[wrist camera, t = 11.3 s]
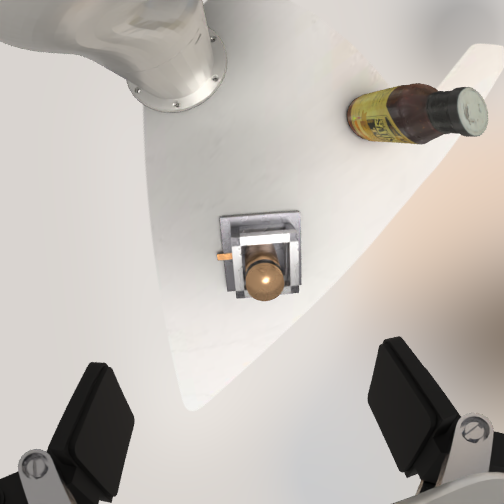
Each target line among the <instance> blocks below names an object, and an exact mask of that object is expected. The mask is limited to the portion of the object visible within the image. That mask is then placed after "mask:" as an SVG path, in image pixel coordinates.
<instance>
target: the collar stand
mask: <svg viewBox="0 0 504 504" xmlns="http://www.w3.org/2000/svg"><path fill="white" fill-rule="evenodd" d="M220 225H221V235H222V245H223V254H217V258H218V260H224V264H225V274H226V283H227V292H228V291H236V298H248V297H252V296H250V294H249V293H248V291H247V289H246V282H245V274H246V272H245V251H246V248H247V247H248V245H258V244H270V243H271V244H272V245H273V246H274V248H275V250H276V253H277V257H278V260H279V264H280V268H281V270H282V273H283V278H284V288H283V291H282V292H281V294H291V293H299V285H301V220H300V212H299V211H287V212H272V213H259V214H246V215H234V216H222V217H220ZM281 294H280V295H281Z"/></svg>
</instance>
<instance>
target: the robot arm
mask: <svg viewBox="0 0 504 504" xmlns="http://www.w3.org/2000/svg"><path fill="white" fill-rule="evenodd" d="M211 40H215V41H214V42H211ZM0 41H1V42H3V43H5V44H8V45H11V46H14V47H18V48H22V49H27V50H32V51H38V52H48V53H63V54H75V55H80V56H83V57H86V58H88V59H90V60H93V61H95V62H97V63H98V64H100V65H102V66H104V67H106V68H107V69H109V70H111V71H112V72H114V73H116V74H118V75H119V76H121V77H123V78H125V79H126V80H127V84H128V87H129V89H130V91H131V92H132V94H133V96H134V97H135V98H137V100H138V101H139V102H141V103H142V104H144V105H145V106H147V107H149V108H151V109H154V110H157V111H161V112H181V111H184V110H188V109H191V108H193V107H195V106H198V105H200V104H201V103H203V102H204V101H206V100H207V99H208V98H209V97H210V96H211V95H212V94H214V93H215V91H216V90H217V89H218V87H219V86H220V84H221V82H222V80H223V78H224V76H225V72H226V68H227V55H226V50H225V47H224V44H223V42H222V40H221V39H220V37H219V36H218V35H217V34H216V33H215V32H214V31H213V30H212V29H210V28H209V27H207V22H206V17H205V12H204V7H203V2H202V0H0ZM215 78H217V79H218V80H217V81H216V82H214V81H213V80H214V79H215ZM139 89H140V90H141V91H140V93H138V90H139ZM176 104H179V107H176ZM368 404H369V406H370V408H371V410H372V412H373V414H374V416H375V419H376V421H377V423H378V425H379V427H380V429H381V431H382V434H383V436H384V438H385V440H386V442H387V445H388V447H389V449H390V451H391V453H392V456H393V458H394V460H395V462H396V464H397V467H398V469H399V471H400V472H405V475H406V477H407V478H408V477H410V476H413V475H416V474H418V475H419V476H420V479H421V482H420V485H419V487H418V490H417V493H416V495H415V496H412V497H410V498H407V499H404V500H401V501H398V502H396V503H393V504H504V434H503V433H499V432H494V431H493V425H492V423H491V421H490V420H489V419H488V418H487V417H485V416H484V415H482V414H479V413H469V414H466V415H464V416H463V417H461V416H460V415H459V413H458V412H457V410H456V409H455V408H454V406H453V405H452V403H451V402H450V400H449V399H448V398H447V396H446V395H445V393H444V392H443V391H442V389H441V388H440V387H439V385H438V384H437V382H436V381H435V380H434V378H433V377H432V376H431V374H430V373H429V372H428V370H427V369H426V368H425V367H424V366H423V365H422V363H421V362H420V361H419V360H418V358H417V357H416V356H415V354H414V353H413V352H412V350H411V349H410V348H409V346H408V345H407V344H406V343H405V341H404V340H403V339H402V338H401V337H394V338H389V339H385V340H384V341H383V344H381V345H380V346H379V349H378V355H377V359H376V363H375V368H374V372H373V376H372V381H371V385H370V389H369V393H368ZM133 427H134V416H133V413H132V412H131V409H130V407H129V405H128V403H127V401H126V399H125V397H124V395H123V392H122V390H121V388H120V386H119V383H118V382H117V379H116V377H115V374H114V372H113V370H112V368H111V367H108V365H107V364H106V363H97V362H95V363H94V362H91V363H90V364H89V365H88V367H87V368H86V370H85V372H84V374H83V376H82V378H81V380H80V382H79V384H78V386H77V388H76V390H75V392H74V394H73V396H72V398H71V399H70V402H69V404H68V406H67V408H66V410H65V412H64V414H63V416H62V418H61V420H60V422H59V425H58V427H57V429H56V431H55V433H54V435H53V437H52V440H51V442H50V444H49V446H48V450H47V452H46V451H43V450H41V449H34V450H30V451H28V452H26V453H25V454H24V455H23V456H22V457H21V459H20V460H19V464H18V472H16V473H13V474H11V475H9V476H6V477H4V478H2V479H0V504H98V503H99V500H101V501H105V502H110V503H111V502H112V498H113V496H116V495H117V493H118V488H119V484H120V479H121V475H122V471H123V467H124V462H125V458H126V454H127V450H128V446H129V442H130V439H131V435H132V431H133Z"/></svg>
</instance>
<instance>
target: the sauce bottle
mask: <svg viewBox="0 0 504 504" xmlns="http://www.w3.org/2000/svg"><path fill="white" fill-rule="evenodd" d="M347 119H348V122H349V125H350V127H351V129H352V130H353V131H354V132H355V133H356V134H357V135H358V136H360V137H361V138H363V139H367V140H369V141H378V142H396V143H410V144H426V143H427V142H429V141H430V140H433V139H435V138H437V137H439V136H441V135H443V134H449V133H460V134H461V135H463V136H480V135H481V134H482V133H483V132H484V131H485V130H486V127H487V124H488V111H487V108H486V104H485V102H484V99H483V98H482V96H481V95H480V94H479V93H478V92H477V91H476V90H474V89H473V88H471V87H460V88H455V89H453V90H452V91H445V92H443V91H438V90H437V89H435V88H433V87H431V86H429V85H425V84H420V83H418V84H417V83H416V84H410V85H401V86H397V87H393V88H388V89H384V90H380V91H376V92H372V93H369V94H364V95H362V96H361V97H358V98H356V99H355V100H354V101H353V102H352V103H351V105H350V106H349V109H348V113H347Z"/></svg>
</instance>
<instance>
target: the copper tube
mask: <svg viewBox="0 0 504 504" xmlns="http://www.w3.org/2000/svg"><path fill="white" fill-rule="evenodd" d="M245 272H246V274H245V282H246V289H247V291H248V293H249V294H250V296H252V297H253V298H254V299H256V300H260V301H269V300H272V299H275V298H276V297H278V296H279V295H280V294H281V292H282V291H283V288H284V278H283V273H282V270H281V268H280V264H279V260H278V257H277V253H276V250H275V248H274V246H273V245H272V244H271V243H270V244H258V245H248V247H247V248H246V251H245Z"/></svg>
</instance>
